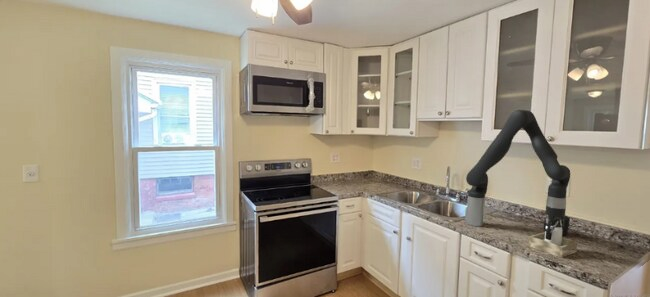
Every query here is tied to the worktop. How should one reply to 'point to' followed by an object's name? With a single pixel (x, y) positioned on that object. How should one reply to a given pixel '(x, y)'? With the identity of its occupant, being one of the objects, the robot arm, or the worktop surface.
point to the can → (555, 236)
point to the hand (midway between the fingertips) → (552, 238)
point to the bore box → (553, 245)
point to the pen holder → (565, 226)
